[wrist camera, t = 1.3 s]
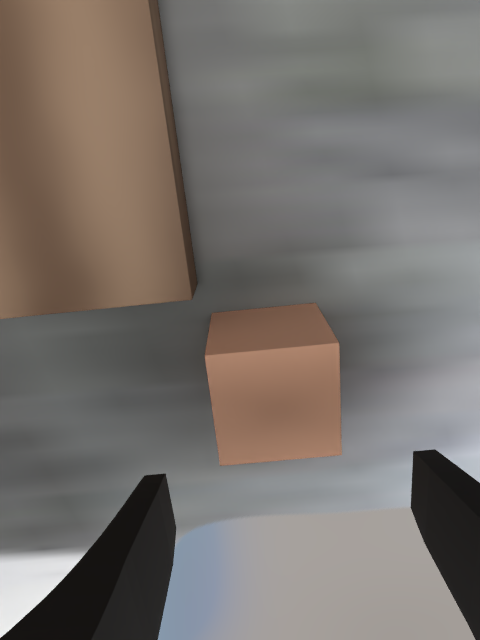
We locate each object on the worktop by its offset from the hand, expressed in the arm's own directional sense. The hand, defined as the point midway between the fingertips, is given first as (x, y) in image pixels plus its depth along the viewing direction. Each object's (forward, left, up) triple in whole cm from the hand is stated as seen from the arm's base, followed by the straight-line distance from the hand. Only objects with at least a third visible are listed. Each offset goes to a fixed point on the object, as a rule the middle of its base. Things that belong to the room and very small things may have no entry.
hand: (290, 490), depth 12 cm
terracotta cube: (0, 0, -10) cm, 10 cm away
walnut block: (-9, +10, -10) cm, 17 cm away
